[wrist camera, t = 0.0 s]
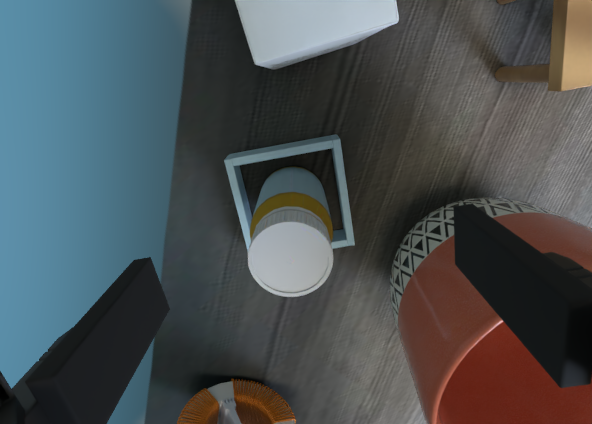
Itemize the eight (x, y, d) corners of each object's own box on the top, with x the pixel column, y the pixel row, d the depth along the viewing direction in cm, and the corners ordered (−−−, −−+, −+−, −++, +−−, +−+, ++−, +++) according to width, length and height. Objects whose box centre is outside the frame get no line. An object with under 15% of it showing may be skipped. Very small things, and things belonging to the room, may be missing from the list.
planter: (361, 182, 39) (431, 294, 18) (543, 157, 38) (826, 248, 17) (372, 326, 45) (432, 522, 25) (526, 308, 44) (716, 498, 24)
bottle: (326, 220, 40) (343, 296, 26) (266, 227, 40) (250, 306, 26) (320, 160, 38) (335, 209, 24) (256, 168, 38) (233, 221, 24)
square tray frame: (229, 153, 37) (223, 160, 35) (336, 133, 37) (340, 138, 34) (253, 249, 41) (250, 262, 39) (351, 233, 41) (355, 245, 38)
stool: (491, -16, 32) (572, -54, 23) (594, -37, 31) (721, -86, 22) (490, 88, 35) (561, 91, 26) (584, 70, 34) (691, 67, 25)
